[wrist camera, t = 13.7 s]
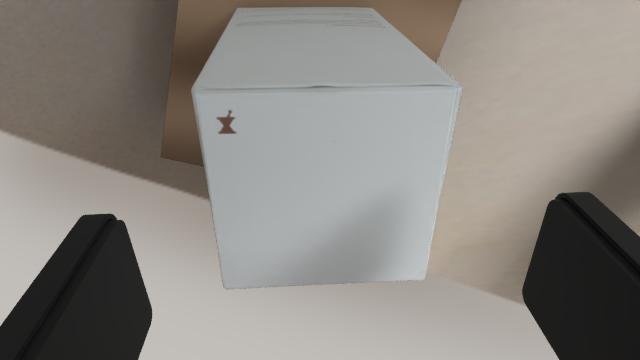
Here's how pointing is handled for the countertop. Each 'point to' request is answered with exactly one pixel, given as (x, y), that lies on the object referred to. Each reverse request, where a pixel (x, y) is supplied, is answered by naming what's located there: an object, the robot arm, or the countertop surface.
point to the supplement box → (322, 147)
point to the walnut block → (221, 3)
